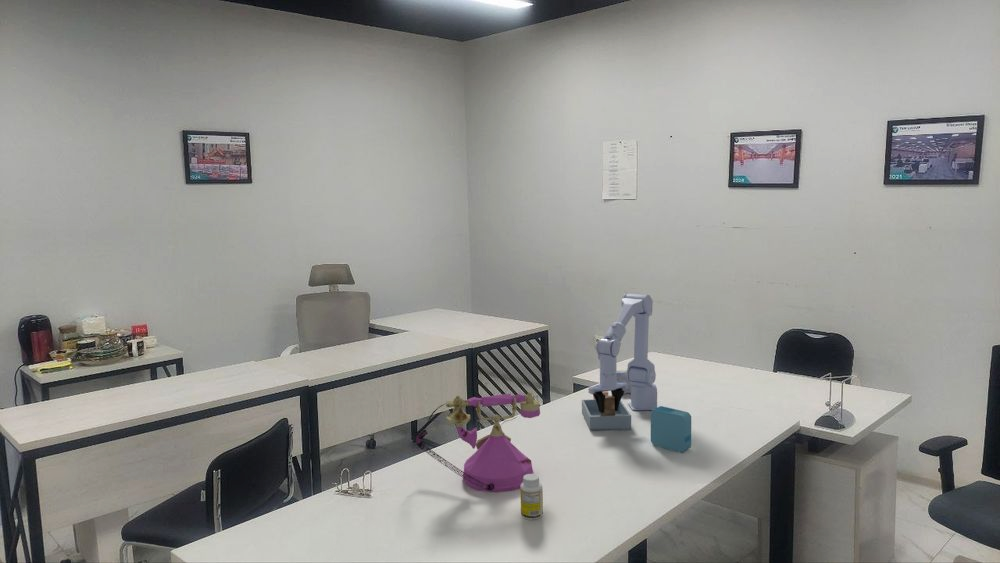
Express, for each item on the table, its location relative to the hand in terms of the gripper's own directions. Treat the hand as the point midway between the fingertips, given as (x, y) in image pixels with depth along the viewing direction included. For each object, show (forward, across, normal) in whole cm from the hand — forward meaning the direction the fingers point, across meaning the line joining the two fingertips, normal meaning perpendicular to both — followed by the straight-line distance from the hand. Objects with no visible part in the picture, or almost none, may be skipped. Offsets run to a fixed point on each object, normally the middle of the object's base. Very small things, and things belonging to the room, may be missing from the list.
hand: (608, 411), depth 223 cm
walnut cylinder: (+2, 0, 0) cm, 2 cm away
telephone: (+6, +56, +22) cm, 60 cm away
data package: (+6, -8, +25) cm, 27 cm away
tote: (+6, -2, -5) cm, 8 cm away
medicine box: (+6, -27, -32) cm, 42 cm away
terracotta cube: (+6, -11, -24) cm, 27 cm away
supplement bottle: (+6, +51, +48) cm, 70 cm away
